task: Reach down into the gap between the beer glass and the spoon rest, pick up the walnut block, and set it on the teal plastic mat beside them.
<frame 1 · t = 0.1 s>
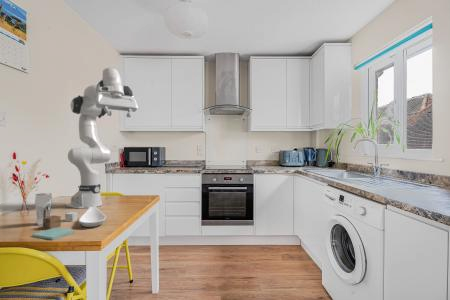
hand: (119, 115, 126), 54 cm above the table, tool tilted 30°, fingers open, 8 cm apart
teal mat: (53, 234, 111), on the table
walnut block: (51, 227, 121), on the table
beer glass: (43, 224, 127), on the table
grey cube: (71, 220, 133), on the table
spoon rest: (92, 223, 129), on the table
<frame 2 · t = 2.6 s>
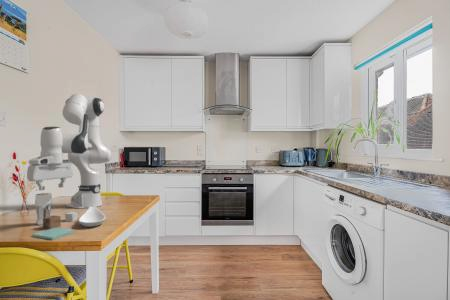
hand: (51, 188, 121), 19 cm above the table, tool pointing down, fingers open, 8 cm apart
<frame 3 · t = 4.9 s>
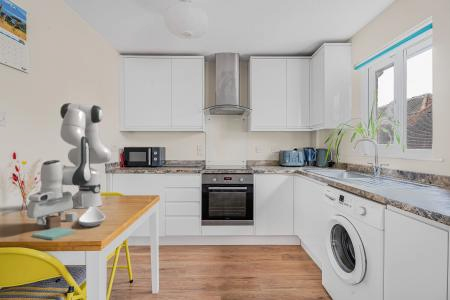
hand: (51, 222, 121), 2 cm above the table, tool pointing down, fingers closed on walnut block, 5 cm apart
walnut block: (51, 227, 121), on the table, touching gripper
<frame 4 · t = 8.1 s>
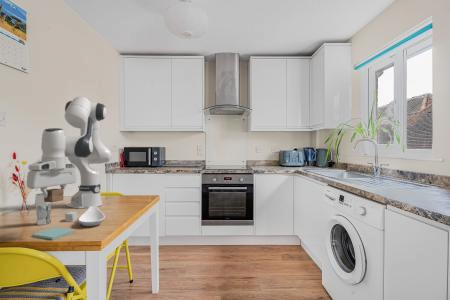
hand: (53, 196, 111), 17 cm above the table, tool pointing down, fingers closed on walnut block, 5 cm apart
walnut block: (53, 200, 111), point 15 cm above the table, touching gripper
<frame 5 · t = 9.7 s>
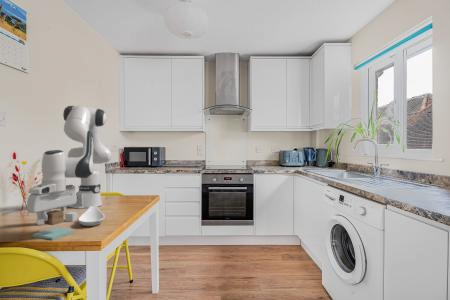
hand: (53, 218, 111), 7 cm above the table, tool pointing down, fingers closed on walnut block, 5 cm apart
walnut block: (54, 223, 111), point 5 cm above the table, touching gripper
when the fingers open (5 cm above the table, at t = 11.1 s): walnut block drops 1 cm, resting on teal mat.
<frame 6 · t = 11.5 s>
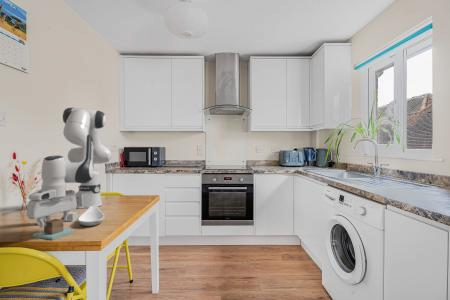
hand: (53, 224, 111), 5 cm above the table, tool pointing down, fingers open, 8 cm apart
walnut block: (53, 232, 111), point 1 cm above the table, touching teal mat
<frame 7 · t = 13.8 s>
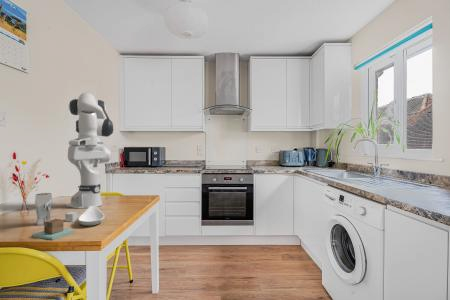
hand: (88, 168, 132), 28 cm above the table, tool pointing down, fingers open, 8 cm apart
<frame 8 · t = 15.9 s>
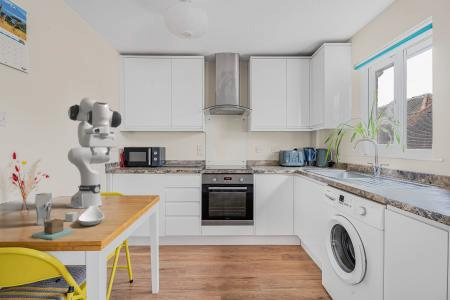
hand: (101, 155, 142), 34 cm above the table, tool pointing down, fingers open, 8 cm apart
at the end: walnut block inside the target area on the teal mat (0.1 cm from its centre), point 1.0 cm above the teal mat's base; walnut block tilted 0°; the gripper is holding nothing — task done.
